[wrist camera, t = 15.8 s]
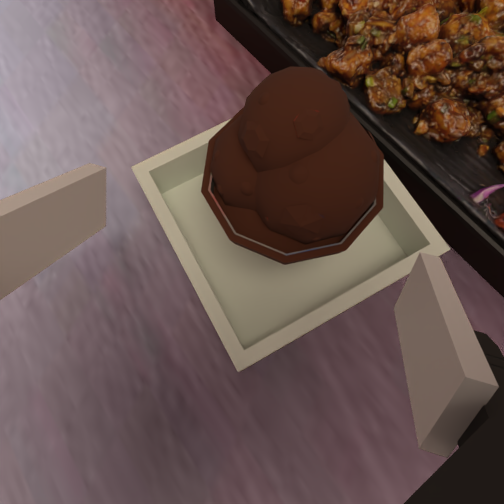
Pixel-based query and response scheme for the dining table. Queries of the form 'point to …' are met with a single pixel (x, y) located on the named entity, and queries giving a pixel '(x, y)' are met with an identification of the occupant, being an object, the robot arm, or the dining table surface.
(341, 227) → the ice cream bowl
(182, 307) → the dining table surface
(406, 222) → the bin
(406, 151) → the food platter
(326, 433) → the dining table surface
